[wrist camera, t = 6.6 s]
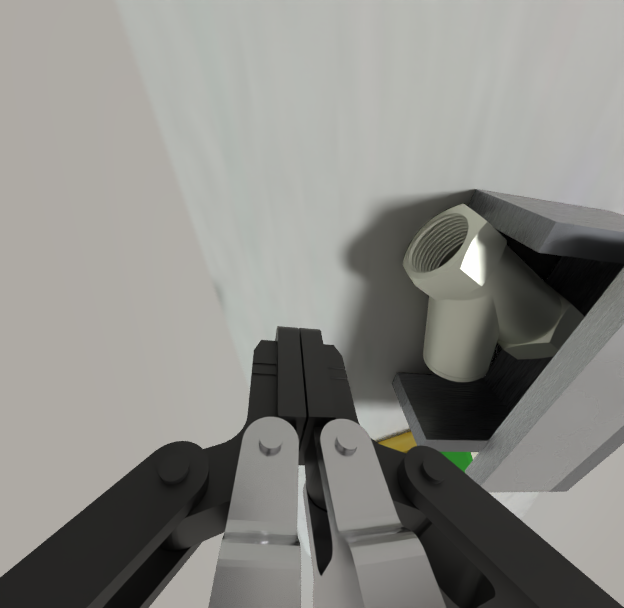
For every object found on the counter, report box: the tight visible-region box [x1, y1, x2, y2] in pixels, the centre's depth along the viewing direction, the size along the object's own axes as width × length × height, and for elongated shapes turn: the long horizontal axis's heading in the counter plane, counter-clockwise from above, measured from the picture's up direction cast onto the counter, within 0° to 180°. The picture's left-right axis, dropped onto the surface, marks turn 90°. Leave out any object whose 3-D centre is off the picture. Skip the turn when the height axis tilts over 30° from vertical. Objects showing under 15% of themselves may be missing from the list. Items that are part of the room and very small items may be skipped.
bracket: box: [392, 189, 624, 492], centre depth 14 cm, size 12×7×6 cm, turn 171°
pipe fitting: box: [403, 204, 585, 382], centre depth 15 cm, size 8×4×7 cm
